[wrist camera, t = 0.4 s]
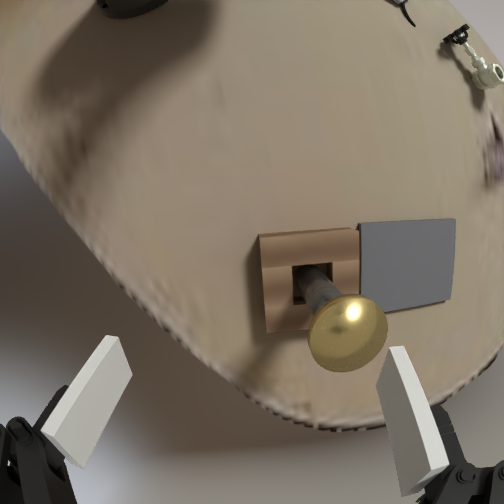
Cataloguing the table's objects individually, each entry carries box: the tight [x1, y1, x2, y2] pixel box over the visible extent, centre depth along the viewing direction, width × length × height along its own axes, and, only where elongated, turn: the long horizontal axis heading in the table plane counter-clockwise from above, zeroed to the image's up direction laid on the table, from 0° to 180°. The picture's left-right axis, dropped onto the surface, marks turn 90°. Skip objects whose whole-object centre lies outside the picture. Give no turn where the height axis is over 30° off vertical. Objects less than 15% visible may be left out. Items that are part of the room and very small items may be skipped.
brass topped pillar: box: [295, 264, 388, 372], centre depth 29 cm, size 6×6×17 cm
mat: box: [358, 218, 456, 312], centre depth 38 cm, size 13×17×1 cm
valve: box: [443, 24, 504, 90], centre depth 29 cm, size 7×7×12 cm
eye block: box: [259, 228, 359, 333], centre depth 36 cm, size 12×12×4 cm
